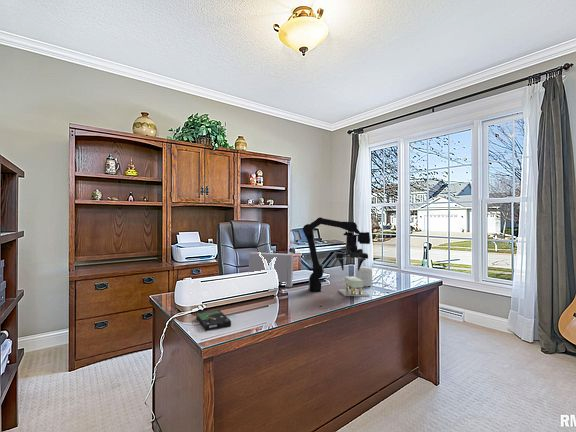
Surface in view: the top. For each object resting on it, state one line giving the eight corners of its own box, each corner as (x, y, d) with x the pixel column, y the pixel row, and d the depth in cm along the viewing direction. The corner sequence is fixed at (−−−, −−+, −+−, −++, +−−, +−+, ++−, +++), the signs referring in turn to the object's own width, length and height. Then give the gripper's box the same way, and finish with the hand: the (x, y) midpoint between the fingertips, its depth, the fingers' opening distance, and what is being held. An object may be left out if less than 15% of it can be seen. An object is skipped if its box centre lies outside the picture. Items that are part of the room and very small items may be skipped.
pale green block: (352, 287, 163) (352, 281, 163) (344, 282, 174) (344, 276, 174) (363, 287, 164) (363, 280, 164) (354, 282, 175) (354, 276, 175)
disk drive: (231, 327, 116) (219, 316, 129) (231, 320, 116) (219, 309, 129) (205, 332, 111) (195, 320, 123) (205, 325, 111) (195, 313, 123)
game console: (290, 287, 181) (291, 255, 181) (248, 284, 186) (248, 253, 186) (292, 285, 186) (293, 253, 186) (251, 282, 192) (251, 252, 192)
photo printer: (371, 285, 190) (371, 266, 190) (372, 287, 186) (373, 267, 186) (355, 284, 191) (355, 265, 191) (356, 286, 187) (356, 266, 187)
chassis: (344, 296, 162) (345, 287, 162) (338, 291, 174) (338, 282, 174) (369, 296, 164) (369, 287, 164) (361, 290, 176) (361, 282, 176)
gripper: (339, 244, 162) (338, 273, 162) (372, 245, 164) (371, 273, 164) (334, 242, 173) (333, 269, 173) (365, 243, 175) (364, 269, 175)
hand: (350, 270), depth 171 cm, fingers open, 9 cm apart
